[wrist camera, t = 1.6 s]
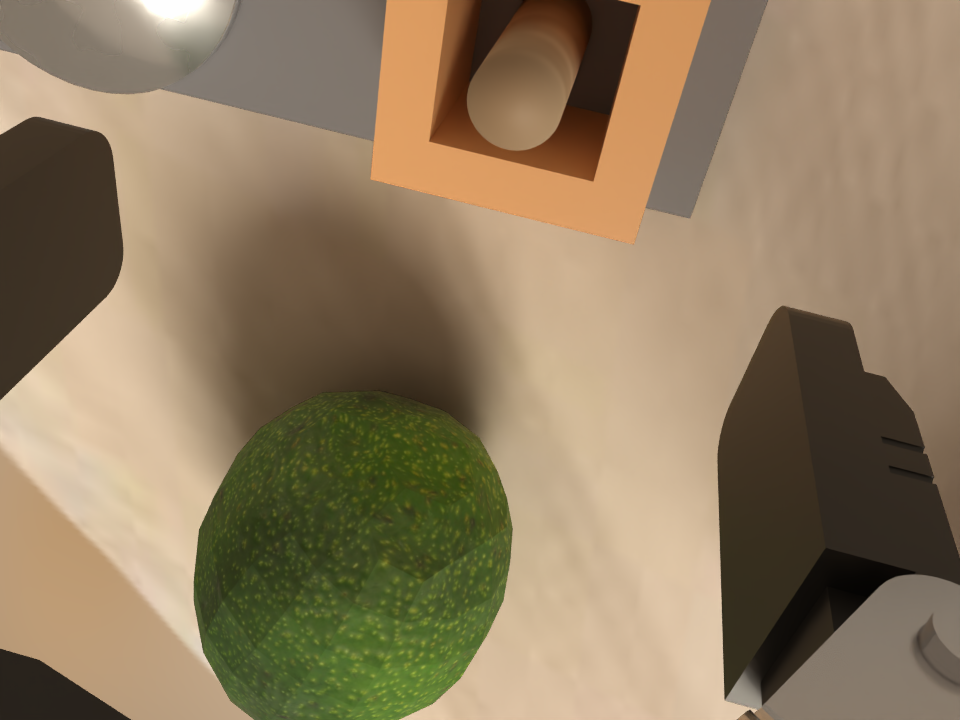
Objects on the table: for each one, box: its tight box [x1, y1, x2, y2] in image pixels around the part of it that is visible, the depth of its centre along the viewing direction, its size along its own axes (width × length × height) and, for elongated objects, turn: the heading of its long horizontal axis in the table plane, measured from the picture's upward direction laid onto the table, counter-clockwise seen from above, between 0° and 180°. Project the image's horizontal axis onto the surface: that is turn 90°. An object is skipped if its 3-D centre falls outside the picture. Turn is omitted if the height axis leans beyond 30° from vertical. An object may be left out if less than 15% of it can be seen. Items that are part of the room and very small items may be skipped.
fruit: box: [194, 391, 513, 720], centre depth 29 cm, size 15×10×10 cm, turn 152°
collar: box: [371, 0, 711, 244], centre depth 18 cm, size 6×6×4 cm
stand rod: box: [467, 0, 592, 151], centre depth 18 cm, size 2×2×6 cm
